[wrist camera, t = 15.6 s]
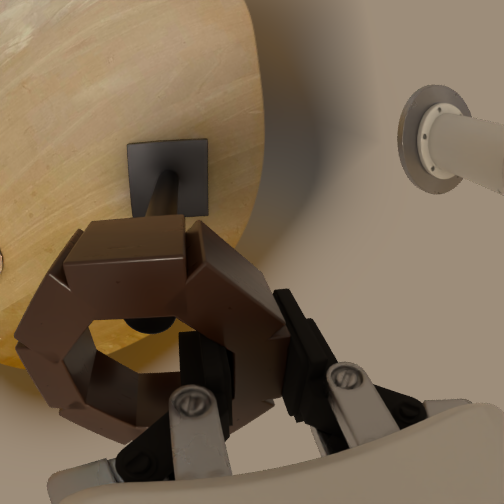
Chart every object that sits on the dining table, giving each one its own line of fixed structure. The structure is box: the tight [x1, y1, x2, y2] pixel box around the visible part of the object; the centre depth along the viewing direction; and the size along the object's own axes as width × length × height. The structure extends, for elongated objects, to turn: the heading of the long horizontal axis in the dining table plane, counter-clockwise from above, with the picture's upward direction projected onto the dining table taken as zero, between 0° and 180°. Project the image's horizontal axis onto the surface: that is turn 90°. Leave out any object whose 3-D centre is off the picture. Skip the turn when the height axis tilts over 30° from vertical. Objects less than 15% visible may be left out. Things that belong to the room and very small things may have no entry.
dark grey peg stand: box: [124, 138, 208, 334], centre depth 23 cm, size 9×9×25 cm
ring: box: [14, 214, 291, 445], centre depth 10 cm, size 9×9×3 cm
